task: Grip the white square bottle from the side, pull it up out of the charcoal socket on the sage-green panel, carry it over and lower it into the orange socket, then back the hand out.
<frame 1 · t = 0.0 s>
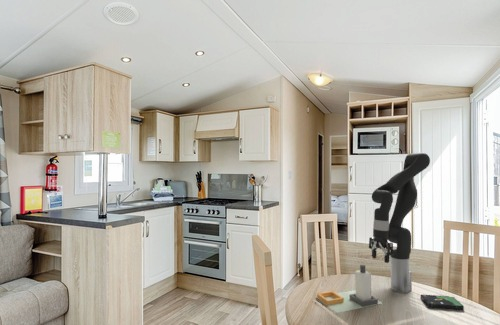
hand: (380, 260, 154), 17 cm above the table, tool pointing down, fingers open, 8 cm apart
white square bottle: (363, 301, 143), point 1 cm above the table, touching panel
disk drive: (441, 305, 141), on the table
panel: (348, 302, 144), on the table
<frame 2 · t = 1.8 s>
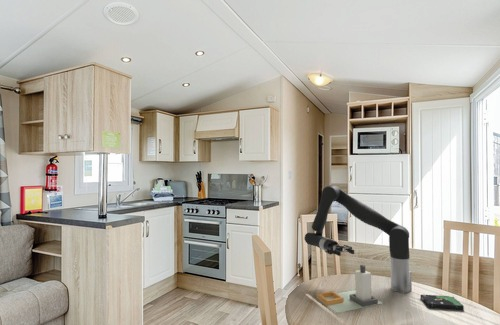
hand: (347, 253, 154), 21 cm above the table, tool horizontal, fingers open, 8 cm apart
nothing on the table moved.
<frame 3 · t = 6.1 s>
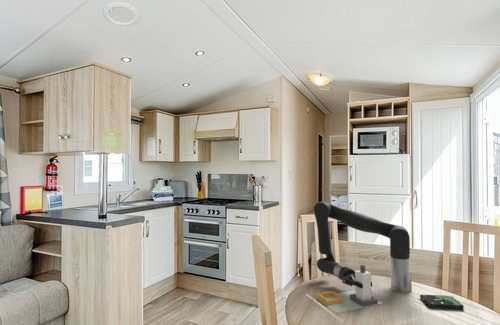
hand: (366, 285, 141), 9 cm above the table, tool horizontal, fingers closed on white square bottle, 5 cm apart
white square bottle: (363, 301, 143), point 1 cm above the table, touching gripper, panel
everything else where it was.
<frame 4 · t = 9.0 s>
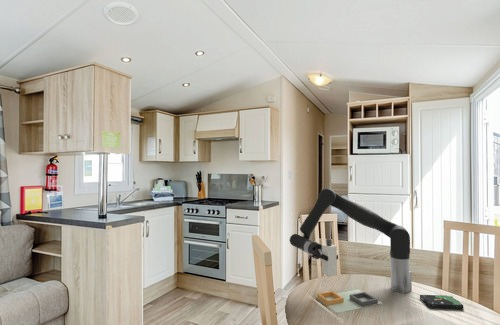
hand: (332, 258, 143), 22 cm above the table, tool horizontal, fingers closed on white square bottle, 5 cm apart
white square bottle: (329, 274, 145), point 14 cm above the table, touching gripper
everything else where it was.
when the fingers open (11 cm above the table, at t = 12.1 s): white square bottle drops 1 cm, resting on panel.
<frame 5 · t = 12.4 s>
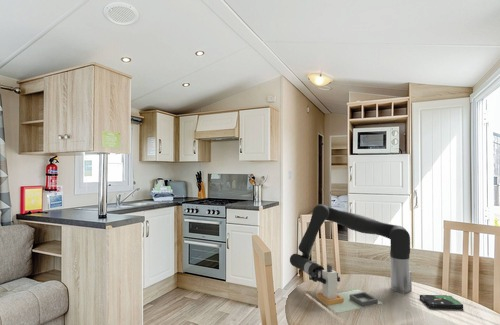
hand: (332, 280, 143), 11 cm above the table, tool horizontal, fingers open, 7 cm apart
white square bottle: (330, 299, 145), point 1 cm above the table, touching panel
everything else where it was.
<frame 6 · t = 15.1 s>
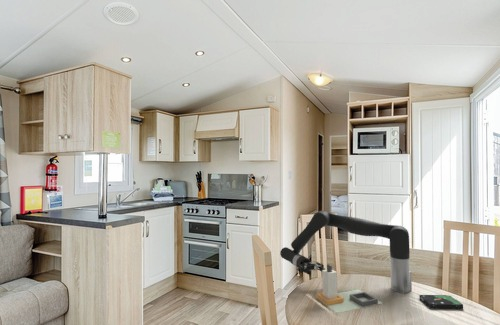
hand: (317, 271, 156), 11 cm above the table, tool horizontal, fingers open, 8 cm apart
nothing on the table moved.
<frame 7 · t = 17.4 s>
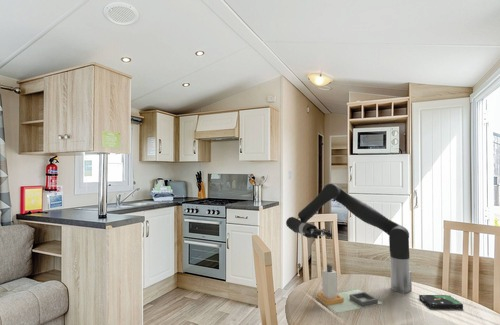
hand: (324, 236, 155), 30 cm above the table, tool horizontal, fingers open, 8 cm apart
nothing on the table moved.
at the end: white square bottle 0.1 cm from the target spot on the panel, point 1.0 cm above the panel's base; white square bottle tilted 0°; the gripper is holding nothing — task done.
